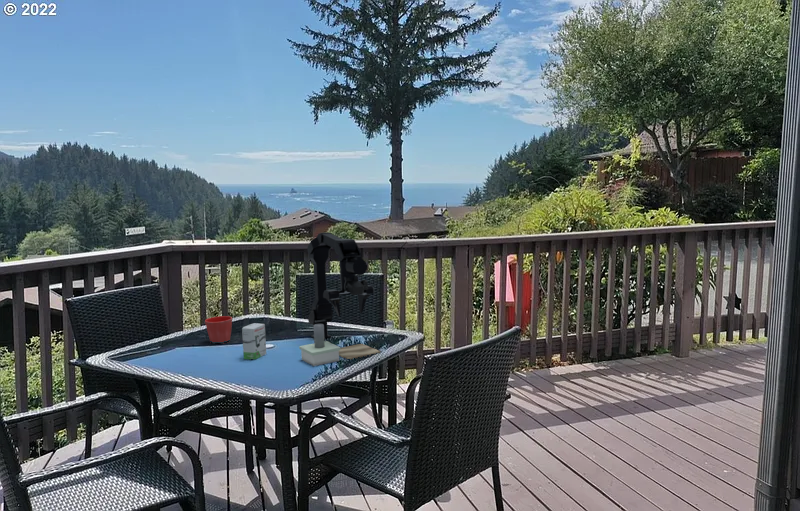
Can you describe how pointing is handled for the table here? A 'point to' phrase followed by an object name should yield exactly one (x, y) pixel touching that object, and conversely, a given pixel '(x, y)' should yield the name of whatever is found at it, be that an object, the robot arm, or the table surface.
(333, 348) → the lid
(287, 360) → the table surface
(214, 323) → the flower pot
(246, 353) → the ink box
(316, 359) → the storage box
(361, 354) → the tan wooden square board
